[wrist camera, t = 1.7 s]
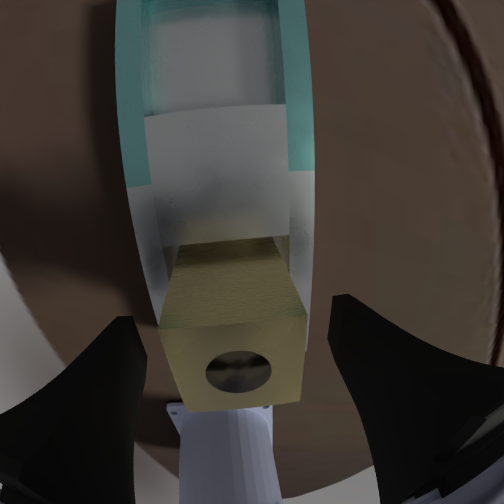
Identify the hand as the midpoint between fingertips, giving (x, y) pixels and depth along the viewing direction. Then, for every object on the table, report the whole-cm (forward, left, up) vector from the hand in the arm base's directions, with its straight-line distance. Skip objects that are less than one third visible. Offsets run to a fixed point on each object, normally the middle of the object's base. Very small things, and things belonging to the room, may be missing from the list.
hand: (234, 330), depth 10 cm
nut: (0, 0, -4) cm, 4 cm away
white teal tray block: (+5, 0, -5) cm, 7 cm away
